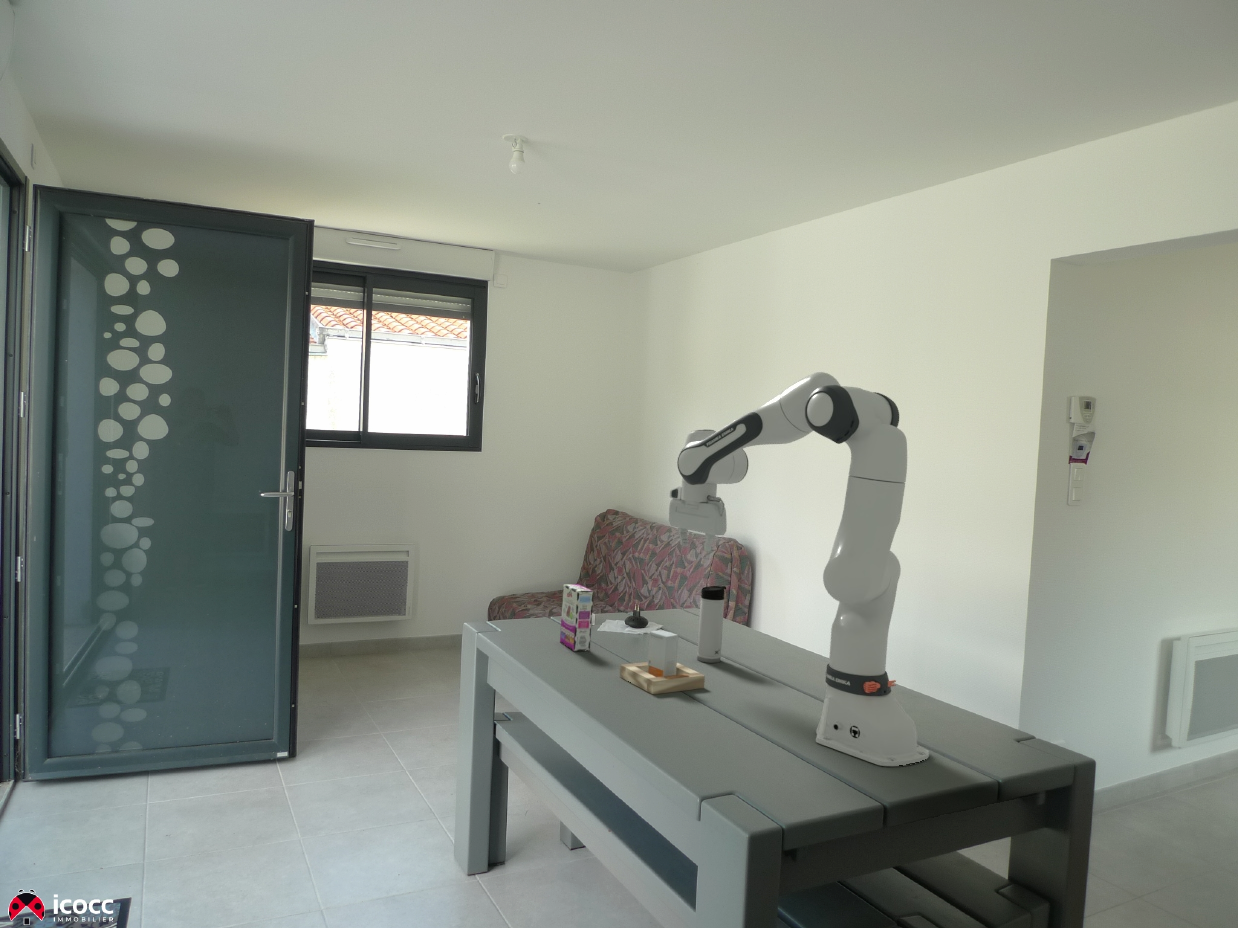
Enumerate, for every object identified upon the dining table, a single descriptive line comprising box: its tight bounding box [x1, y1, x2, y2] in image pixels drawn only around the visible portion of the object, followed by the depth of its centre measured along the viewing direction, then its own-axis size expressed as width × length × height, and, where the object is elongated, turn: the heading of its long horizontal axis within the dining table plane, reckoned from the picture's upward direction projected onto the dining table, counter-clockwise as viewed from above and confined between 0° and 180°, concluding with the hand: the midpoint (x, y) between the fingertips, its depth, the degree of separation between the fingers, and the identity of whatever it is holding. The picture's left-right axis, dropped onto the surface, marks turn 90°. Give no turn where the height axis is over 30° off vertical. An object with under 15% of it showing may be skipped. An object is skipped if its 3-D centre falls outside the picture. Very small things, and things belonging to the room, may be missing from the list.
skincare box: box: [647, 629, 679, 677], centre depth 205 cm, size 6×4×12 cm
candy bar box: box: [559, 583, 595, 652], centre depth 234 cm, size 11×5×16 cm, turn 25°
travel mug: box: [696, 585, 727, 664], centre depth 228 cm, size 6×7×20 cm
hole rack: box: [619, 661, 706, 695], centre depth 205 cm, size 15×15×3 cm
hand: (695, 548), depth 215 cm, fingers open, 8 cm apart
